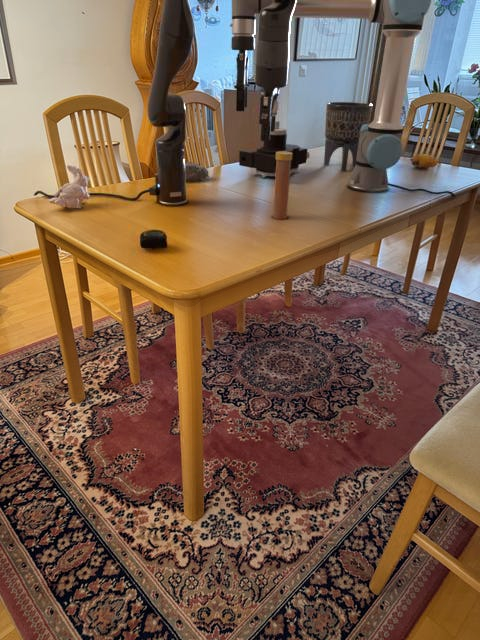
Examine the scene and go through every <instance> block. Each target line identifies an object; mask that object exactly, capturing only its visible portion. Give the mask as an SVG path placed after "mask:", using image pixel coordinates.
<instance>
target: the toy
mask: <svg viewBox="0 0 480 640" xmlns="http://www.w3.org/2000/svg"><path fill="white" fill-rule="evenodd" d="M409 160H410V161H411V165H412V166H416V167H420V168H421V169H431V168H434V167H436V166H438V164H439V161H438V160H437V159H434V158H433V156H432V155H430V154H428V153H423V154H419V155H415V156H414V157H412V158H410V159H409Z"/></svg>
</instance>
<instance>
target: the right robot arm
mask: <svg viewBox="0 0 480 640" xmlns="http://www.w3.org/2000/svg"><path fill="white" fill-rule="evenodd" d="M272 3H273V0H231V22H230V23H229V27H231V35H233V36H231V46H230V47H231V50H232V51H238V53H237V54H236V58H235V59H236V60H235V61H236V83H235V84H234V90H236V101H235V102H236V103H235V104H236V106H235V111H236V112H245V111H246V109H245V108H248V87H250V83H249V79H248V78H249V65H250V57H249V54H248V51H255V49H256V38H255V37H254V36H255V35H256V25H257V23H256V22H257V19H256V16H257V14H258V15H259V14H260V11H261V10H262V9H263V8H265V7H268V6H270V5H271V4H272ZM431 4H432V0H296V3H295V7H294V10H293V13H292V17H291V18H299V19H300V18H301V19H302V18H307V19H349V20H350V19H352V20H353V19H354V20H367V21H368V23H370V24H371V23H374V24H383V25H382V33H383V34H384V36H385V38H386V39H385V43H384V44H385V45H384V51H383V57H382V58H383V59H382V63H381V64H382V65H381V70H380V71H381V72H380V77H379V82H378V89H377V97H376V101H375V110H374V116H373V120H372V121H371V122H369V124H364V125H362V127H361V130H360V133H359V134H360V137H359V144H358V151H357V158H356V165H355V166H354V167H353V171H351V174H350V176H349V179H348V182H347V187H348V188H349V189H351V190H354V191H358V192H363V193H364V192H365V193H382V192H386V191H388V189H389V187H393V188H397V189H401V190H403V191H407V192H426V193H428V194H431V195H442V194H449V195H451V196H452V197H456V194H455V193H454V192H453V191H449V190H443V191H433V190H432V191H431V190H429V189H425V188H407V187H404V186H401V185H397V184H393V183H390V182H389V178H388V173H387V172H388V171H387V169H390V168H392V167H394V166H395V165H396V164H397V163H399V161H400V159H401V158H402V155H403V152H404V149H403V148H404V147H403V141H402V139H403V138H402V137H403V132H404V126H403V124H402V123H401V117H402V112H403V107H404V101H405V97H406V96H405V95H406V90H407V84H408V79H409V73H410V67H411V62H412V59H413V51H414V45H415V41H416V38H417V37H418V36H419V35H420V34H421V33H422V32H423V31H422V30H423V25H424V20H425V16H426V14H427V13H428V12H429V9H430V7H431Z"/></svg>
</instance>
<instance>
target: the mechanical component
mask: <svg viewBox="0 0 480 640" xmlns="http://www.w3.org/2000/svg"><path fill="white" fill-rule="evenodd" d="M287 138H288V129H287V128H286V127H280V121H279V120H276V122H275V130H274V131H273V132H271V131H270V140H269V141H268V142H265V141H263V145H262V146H258V147H257V148H256V151H250V150H245V149H241V150H239V153H238V154H239V155H238V157H239V159H238V166H240V167H245V168H250V169H255V173H256V174H257V175H261V177H262V178H267V177H276V152H279V151H286V152H292V160H291V166H290V176H291V175H292V173H298V171H299V167H300V165H303V164H304V165H305V164H307V160H309V158H310V156H311V154H310V152H309V151H308V148H304V147H301V146H299V145H297V144H290V143H287Z"/></svg>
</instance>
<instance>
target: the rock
mask: <svg viewBox="0 0 480 640" xmlns="http://www.w3.org/2000/svg"><path fill="white" fill-rule="evenodd" d="M185 175H186V183H191V182H201V181H202V180H204V179H206V178H209V177H210V175H209V171H208V169H207V168H206V167H205V166H202V165H201V164H199V163H194V162H192V161H190V160H187V161H186V162H185Z"/></svg>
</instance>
